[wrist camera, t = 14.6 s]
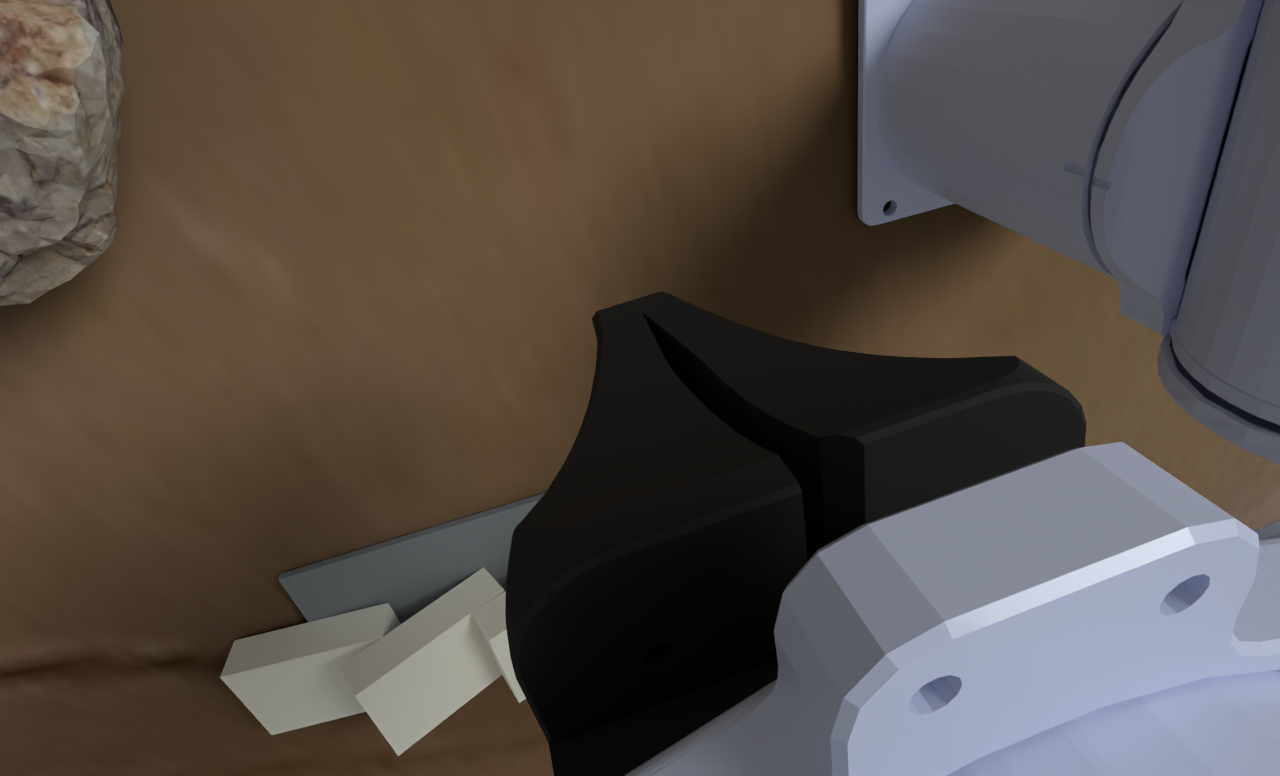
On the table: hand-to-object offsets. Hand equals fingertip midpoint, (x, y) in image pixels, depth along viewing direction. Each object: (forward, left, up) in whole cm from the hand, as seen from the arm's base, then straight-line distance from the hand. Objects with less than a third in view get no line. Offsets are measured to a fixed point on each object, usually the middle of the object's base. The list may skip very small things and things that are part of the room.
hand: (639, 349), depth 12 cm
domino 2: (+6, +16, -9) cm, 19 cm away
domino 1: (+10, +16, -9) cm, 21 cm away
